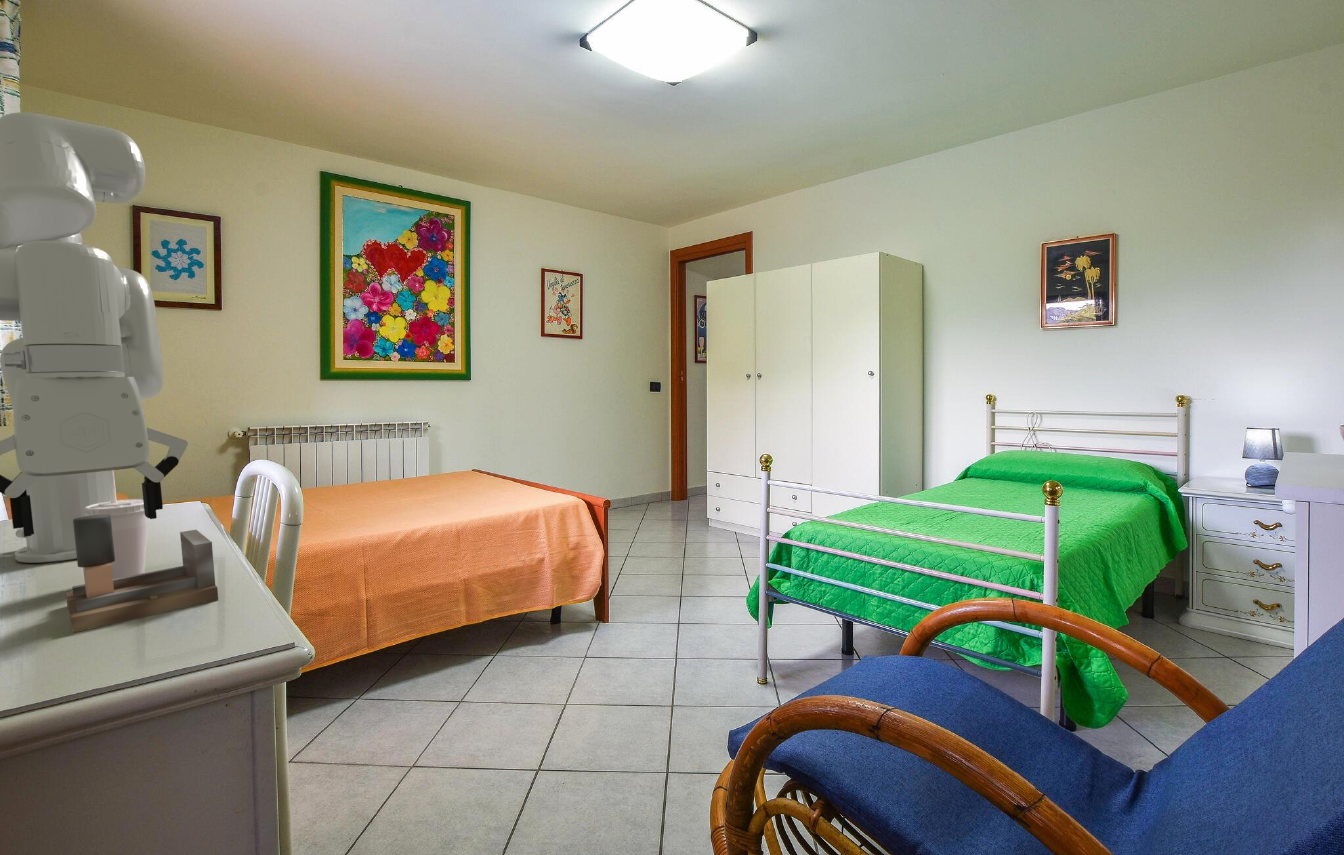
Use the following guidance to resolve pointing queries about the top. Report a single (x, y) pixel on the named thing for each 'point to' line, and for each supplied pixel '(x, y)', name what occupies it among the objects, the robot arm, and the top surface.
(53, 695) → the top surface
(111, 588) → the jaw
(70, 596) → the vise base
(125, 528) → the smoothie
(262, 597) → the top surface
